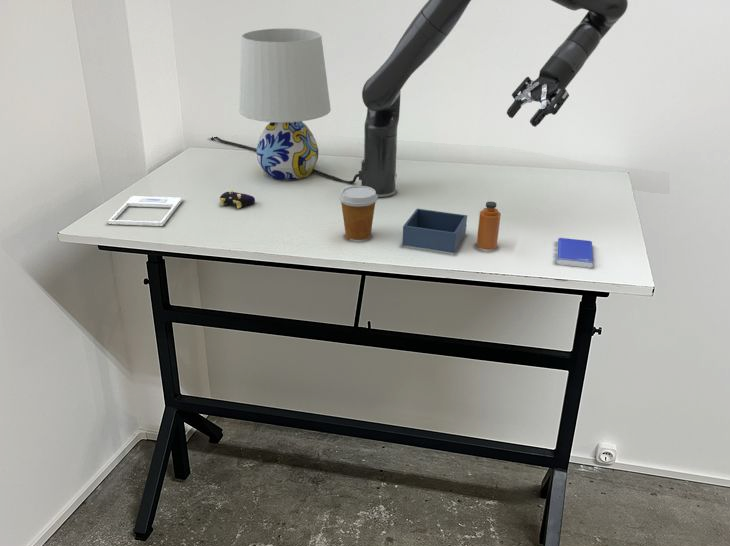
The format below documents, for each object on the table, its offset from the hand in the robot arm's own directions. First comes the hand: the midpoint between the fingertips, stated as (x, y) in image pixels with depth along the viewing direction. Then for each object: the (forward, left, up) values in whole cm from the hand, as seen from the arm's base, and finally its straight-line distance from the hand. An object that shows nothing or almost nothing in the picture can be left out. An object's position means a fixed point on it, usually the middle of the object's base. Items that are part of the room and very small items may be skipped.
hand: (520, 120), depth 173 cm
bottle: (-2, -15, -28) cm, 32 cm away
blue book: (+18, -12, -28) cm, 36 cm away
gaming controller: (-75, -11, -28) cm, 80 cm away
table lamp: (-72, +18, -28) cm, 79 cm away
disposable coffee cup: (-35, -20, -28) cm, 49 cm away
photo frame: (-95, -25, -28) cm, 102 cm away
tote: (-16, -16, -28) cm, 36 cm away
